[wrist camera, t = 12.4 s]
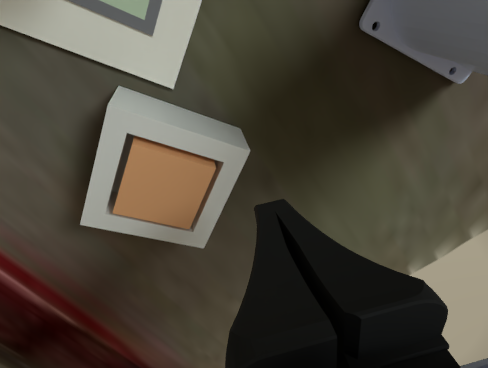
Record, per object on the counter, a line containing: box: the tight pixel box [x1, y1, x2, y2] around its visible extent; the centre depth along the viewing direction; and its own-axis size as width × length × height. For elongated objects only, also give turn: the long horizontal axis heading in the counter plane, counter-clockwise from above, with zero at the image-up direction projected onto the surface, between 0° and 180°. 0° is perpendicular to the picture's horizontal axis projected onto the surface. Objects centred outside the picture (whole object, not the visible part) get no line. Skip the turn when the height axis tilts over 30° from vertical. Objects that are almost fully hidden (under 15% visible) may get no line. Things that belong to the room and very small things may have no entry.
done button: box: [113, 135, 216, 229], centre depth 20 cm, size 5×5×2 cm
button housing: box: [80, 86, 250, 248], centre depth 20 cm, size 8×8×4 cm
